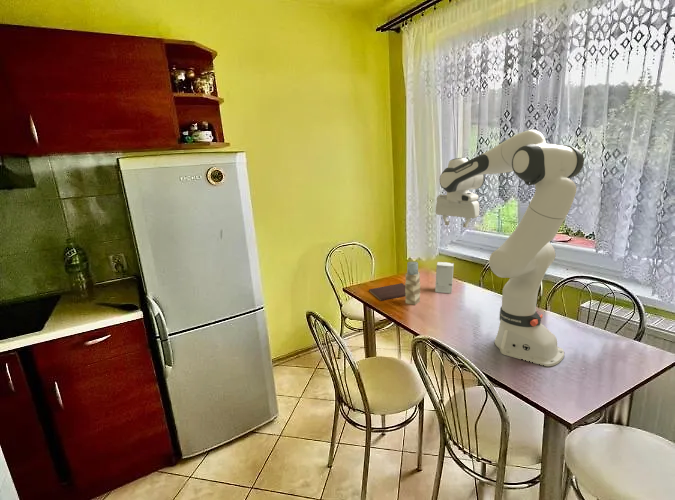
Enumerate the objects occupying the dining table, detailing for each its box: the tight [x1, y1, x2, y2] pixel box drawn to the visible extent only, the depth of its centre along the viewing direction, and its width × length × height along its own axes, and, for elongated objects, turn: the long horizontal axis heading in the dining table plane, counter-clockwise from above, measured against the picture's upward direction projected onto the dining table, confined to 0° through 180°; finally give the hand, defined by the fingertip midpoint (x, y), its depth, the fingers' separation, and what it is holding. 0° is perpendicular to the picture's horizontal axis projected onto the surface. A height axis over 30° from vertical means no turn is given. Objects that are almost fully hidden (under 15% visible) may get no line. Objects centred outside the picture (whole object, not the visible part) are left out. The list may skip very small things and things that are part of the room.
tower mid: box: [404, 282, 421, 295], centre depth 177 cm, size 5×5×5 cm
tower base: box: [405, 292, 421, 306], centre depth 178 cm, size 5×5×5 cm
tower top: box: [405, 271, 421, 286], centre depth 175 cm, size 5×5×5 cm
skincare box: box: [434, 261, 455, 294], centre depth 188 cm, size 8×6×15 cm
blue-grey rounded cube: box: [406, 261, 419, 275], centre depth 174 cm, size 5×5×5 cm
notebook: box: [368, 282, 406, 302], centre depth 192 cm, size 15×20×2 cm
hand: (456, 226), depth 167 cm, fingers open, 8 cm apart
